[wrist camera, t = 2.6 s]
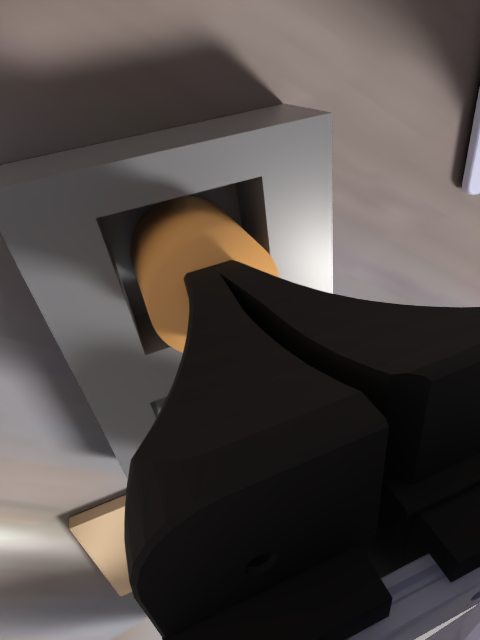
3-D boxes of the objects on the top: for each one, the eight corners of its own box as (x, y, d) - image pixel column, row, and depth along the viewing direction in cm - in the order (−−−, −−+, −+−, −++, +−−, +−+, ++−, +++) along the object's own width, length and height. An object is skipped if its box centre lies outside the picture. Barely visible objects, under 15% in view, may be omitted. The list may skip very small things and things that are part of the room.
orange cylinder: (228, 183, 13) (273, 217, 10) (243, 281, 15) (284, 332, 12) (114, 212, 12) (129, 257, 9) (147, 311, 14) (167, 372, 11)
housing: (284, 103, 13) (331, 112, 11) (303, 397, 21) (333, 439, 19) (-3, 165, 11) (-22, 192, 9) (137, 462, 19) (147, 517, 17)
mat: (221, 456, 21) (225, 465, 21) (241, 531, 26) (245, 540, 26) (69, 517, 20) (69, 528, 19) (119, 586, 24) (120, 597, 24)
